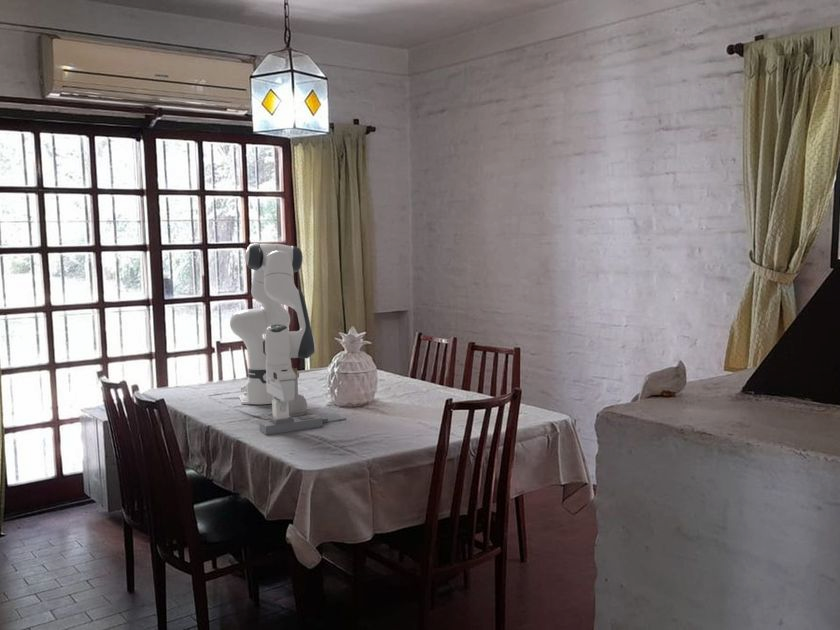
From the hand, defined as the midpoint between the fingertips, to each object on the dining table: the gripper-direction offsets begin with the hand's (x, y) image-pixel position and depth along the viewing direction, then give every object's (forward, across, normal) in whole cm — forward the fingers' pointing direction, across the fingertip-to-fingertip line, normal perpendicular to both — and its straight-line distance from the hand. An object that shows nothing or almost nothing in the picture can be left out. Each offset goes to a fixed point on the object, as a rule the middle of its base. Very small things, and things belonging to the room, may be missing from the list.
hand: (280, 409), depth 279 cm
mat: (+7, -6, +20) cm, 22 cm away
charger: (+3, 0, 0) cm, 3 cm away
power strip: (+7, 0, +5) cm, 9 cm away
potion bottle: (+8, -21, +13) cm, 26 cm away
